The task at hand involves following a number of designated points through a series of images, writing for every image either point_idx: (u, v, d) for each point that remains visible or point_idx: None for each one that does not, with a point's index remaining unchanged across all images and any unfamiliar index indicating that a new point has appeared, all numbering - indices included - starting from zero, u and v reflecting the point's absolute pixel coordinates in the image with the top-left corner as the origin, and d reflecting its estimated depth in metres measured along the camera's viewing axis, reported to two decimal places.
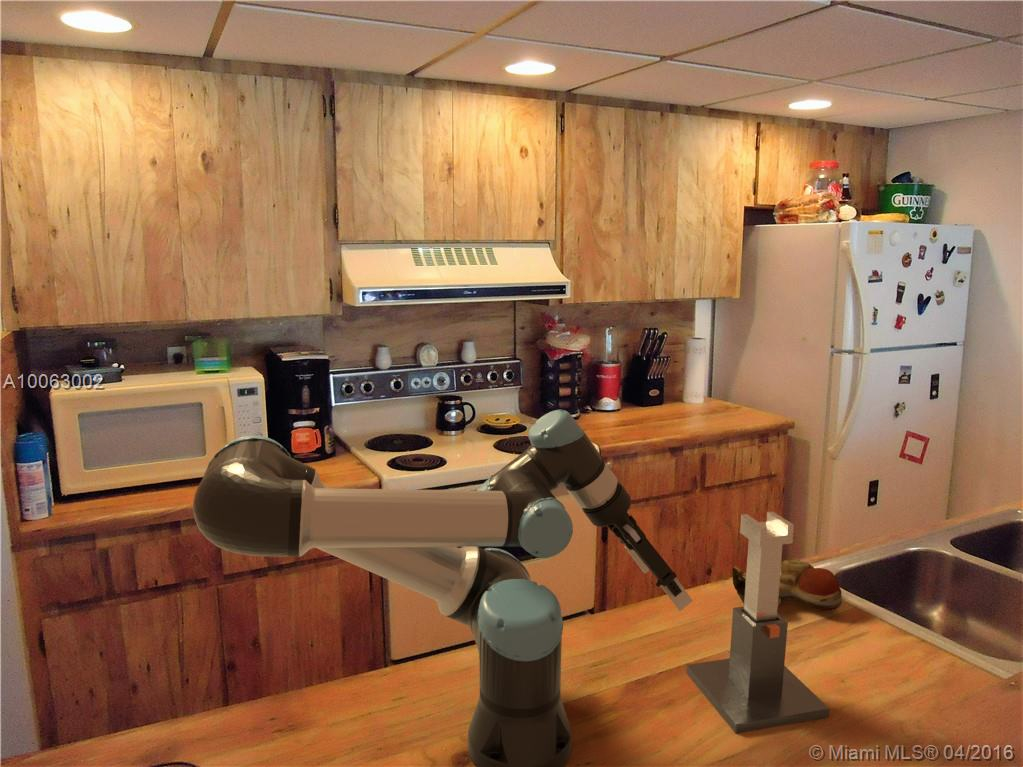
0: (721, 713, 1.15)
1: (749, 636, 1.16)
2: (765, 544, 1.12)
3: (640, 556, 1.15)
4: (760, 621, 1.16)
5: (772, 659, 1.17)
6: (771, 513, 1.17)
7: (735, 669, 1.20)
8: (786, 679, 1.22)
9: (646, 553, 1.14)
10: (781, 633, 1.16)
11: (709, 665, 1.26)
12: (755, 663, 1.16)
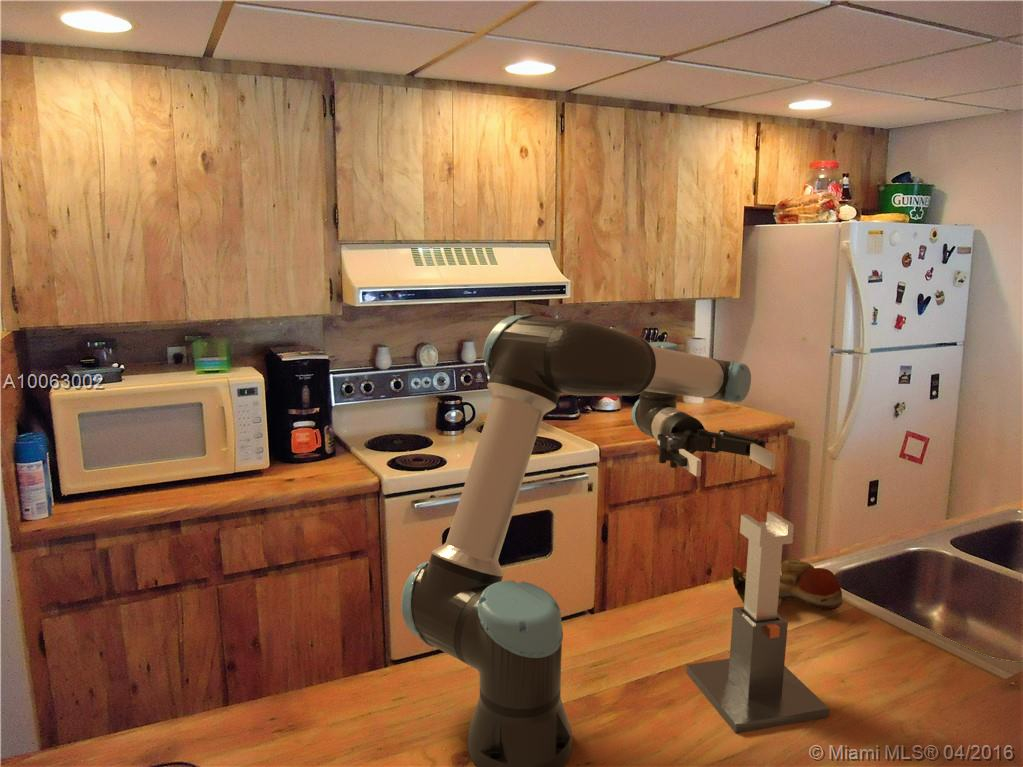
0: (721, 713, 1.15)
1: (749, 636, 1.16)
2: (765, 544, 1.12)
3: (735, 435, 1.36)
4: (760, 621, 1.16)
5: (772, 659, 1.17)
6: (771, 513, 1.17)
7: (735, 669, 1.20)
8: (786, 679, 1.22)
9: None
10: (781, 633, 1.16)
11: (709, 665, 1.26)
12: (755, 663, 1.16)
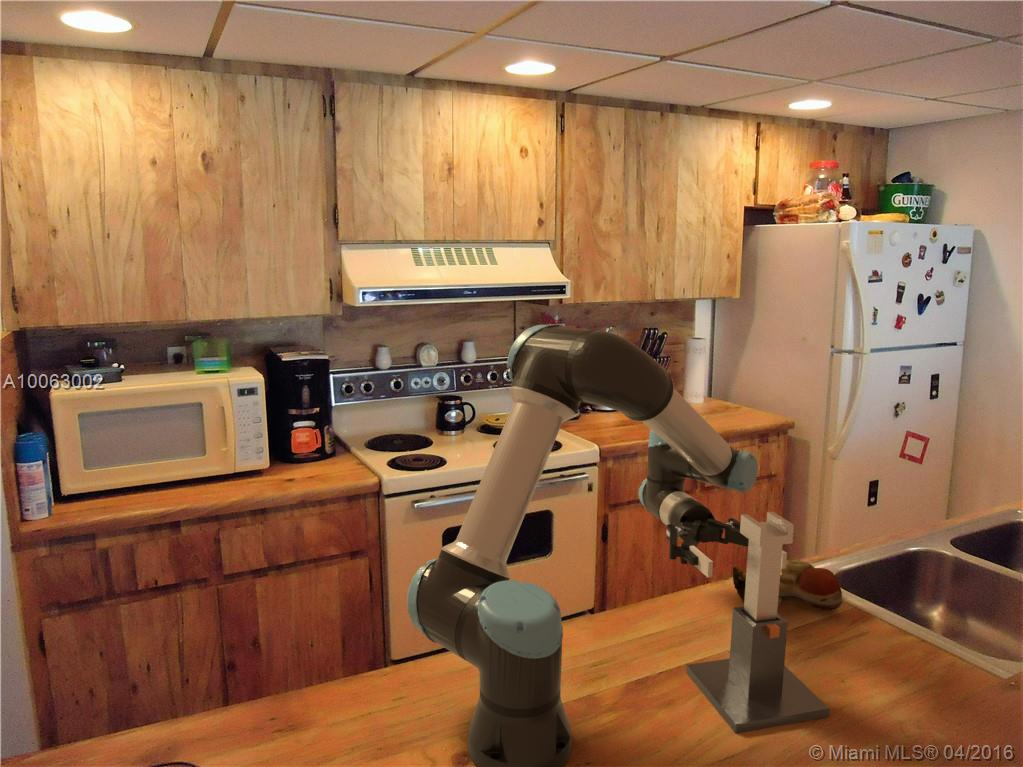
0: (721, 713, 1.15)
1: (749, 636, 1.16)
2: (765, 544, 1.12)
3: None
4: (760, 621, 1.16)
5: (772, 659, 1.17)
6: (771, 513, 1.17)
7: (735, 669, 1.20)
8: (786, 679, 1.22)
9: None
10: (781, 633, 1.16)
11: (709, 665, 1.26)
12: (755, 663, 1.16)
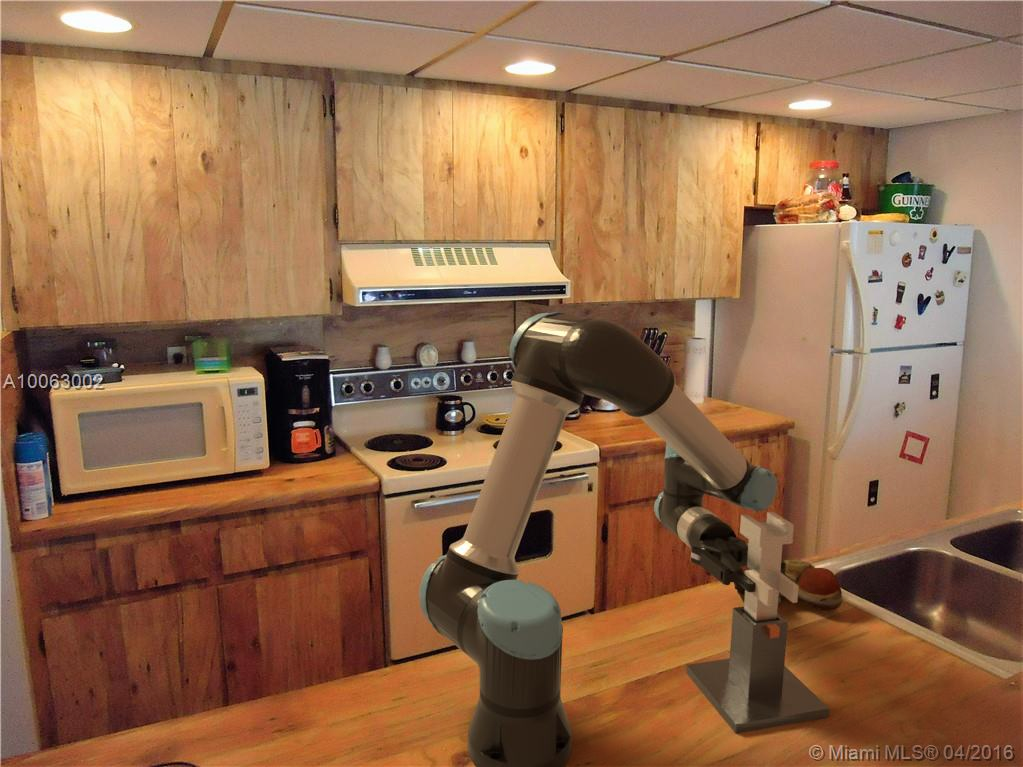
0: (721, 713, 1.15)
1: (749, 636, 1.16)
2: (765, 544, 1.12)
3: None
4: (760, 621, 1.16)
5: (772, 659, 1.17)
6: (771, 513, 1.17)
7: (735, 669, 1.20)
8: (786, 679, 1.22)
9: None
10: (781, 633, 1.16)
11: (709, 665, 1.26)
12: (755, 663, 1.16)
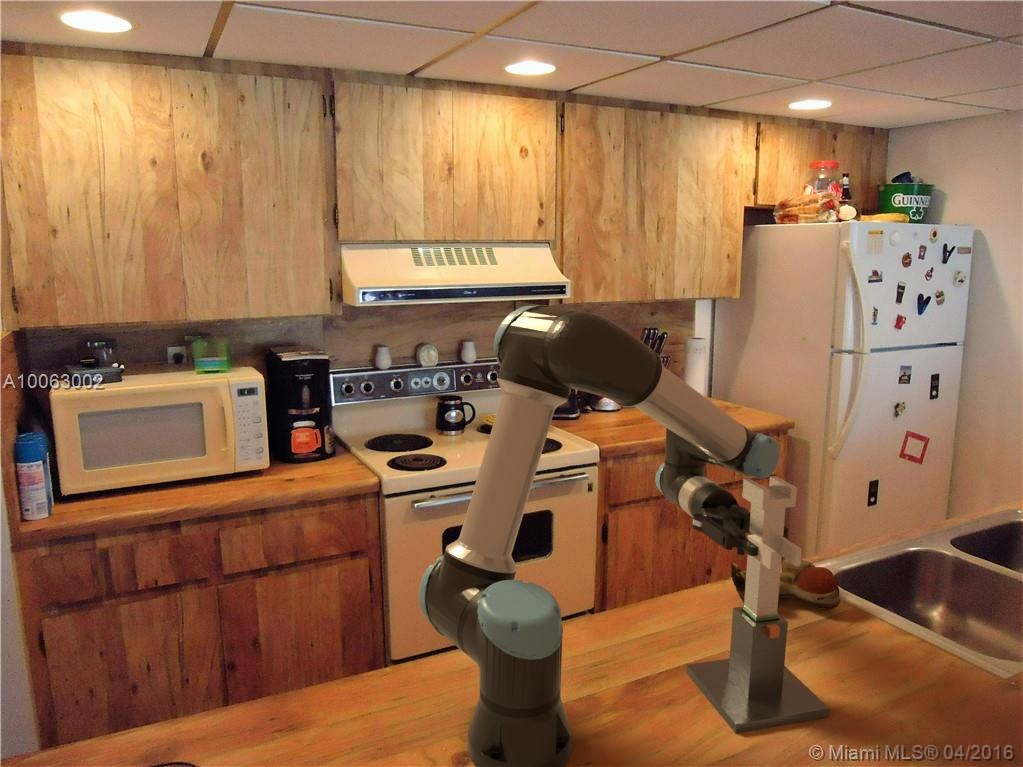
0: (721, 713, 1.15)
1: (749, 636, 1.16)
2: (768, 507, 1.11)
3: None
4: (763, 586, 1.15)
5: (772, 659, 1.17)
6: (773, 477, 1.16)
7: (735, 669, 1.20)
8: (786, 679, 1.22)
9: None
10: (781, 633, 1.16)
11: (709, 665, 1.26)
12: (755, 663, 1.16)
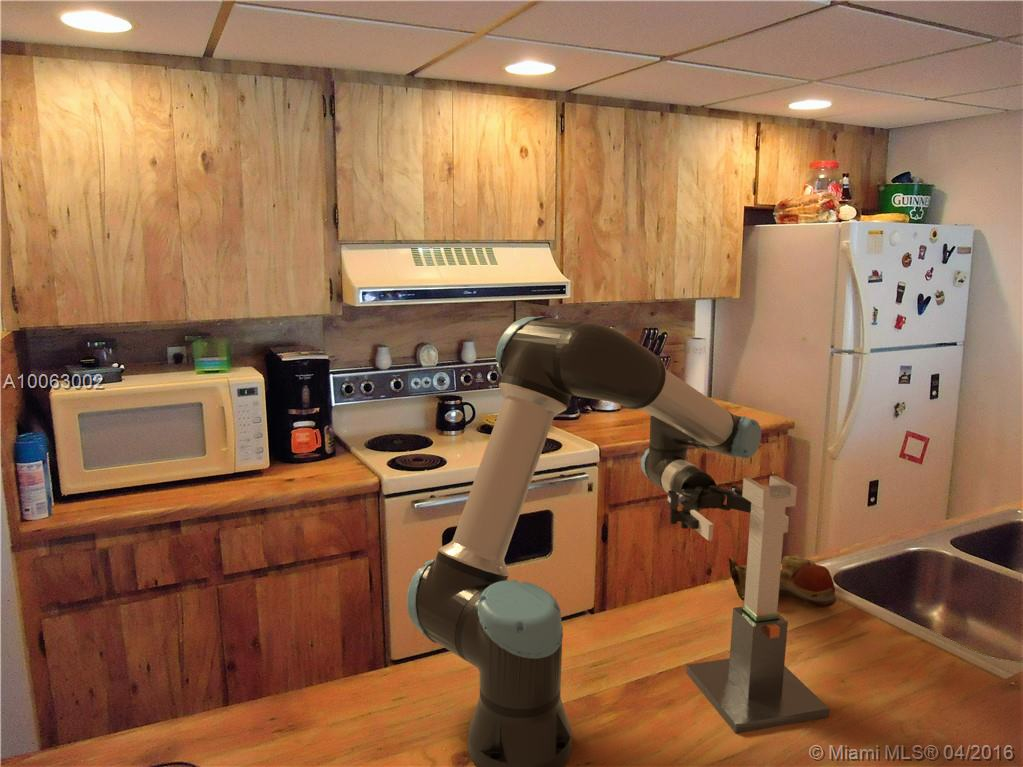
0: (721, 713, 1.15)
1: (749, 636, 1.16)
2: (768, 507, 1.11)
3: None
4: (763, 586, 1.15)
5: (772, 659, 1.17)
6: (773, 477, 1.16)
7: (735, 669, 1.20)
8: (786, 679, 1.22)
9: None
10: (781, 633, 1.16)
11: (709, 665, 1.26)
12: (755, 663, 1.16)
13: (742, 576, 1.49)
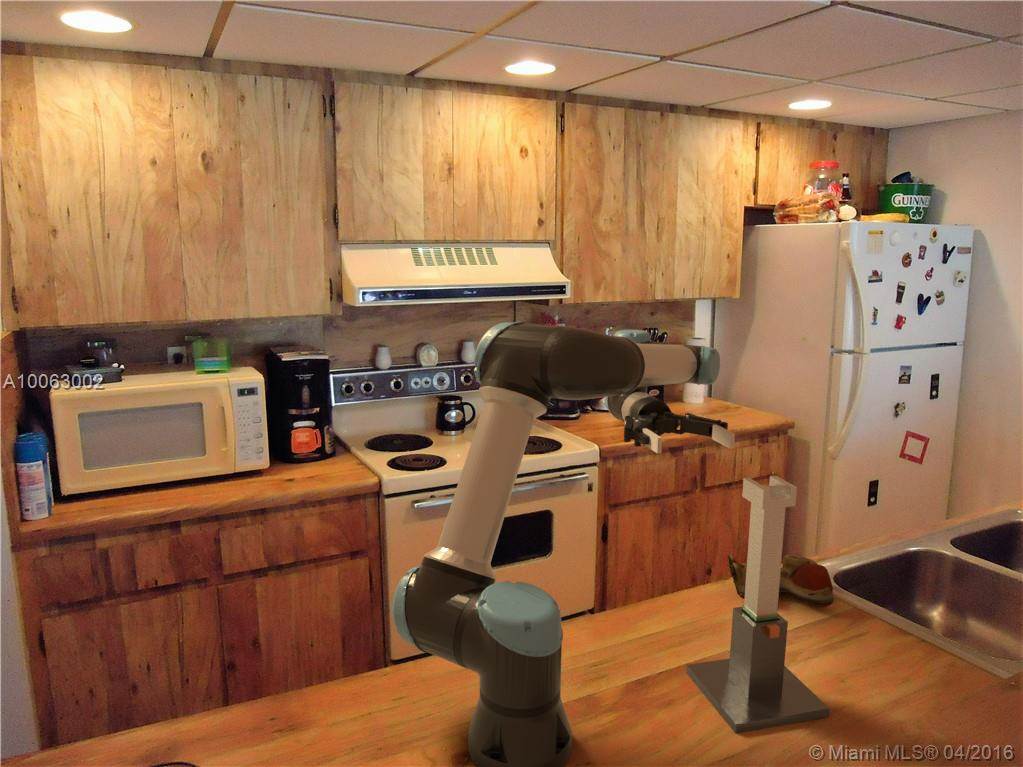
0: (721, 713, 1.15)
1: (749, 636, 1.16)
2: (768, 507, 1.11)
3: (700, 418, 1.41)
4: (763, 586, 1.15)
5: (772, 659, 1.17)
6: (773, 477, 1.16)
7: (735, 669, 1.20)
8: (786, 679, 1.22)
9: None
10: (781, 633, 1.16)
11: (709, 665, 1.26)
12: (755, 663, 1.16)
13: (740, 573, 1.50)
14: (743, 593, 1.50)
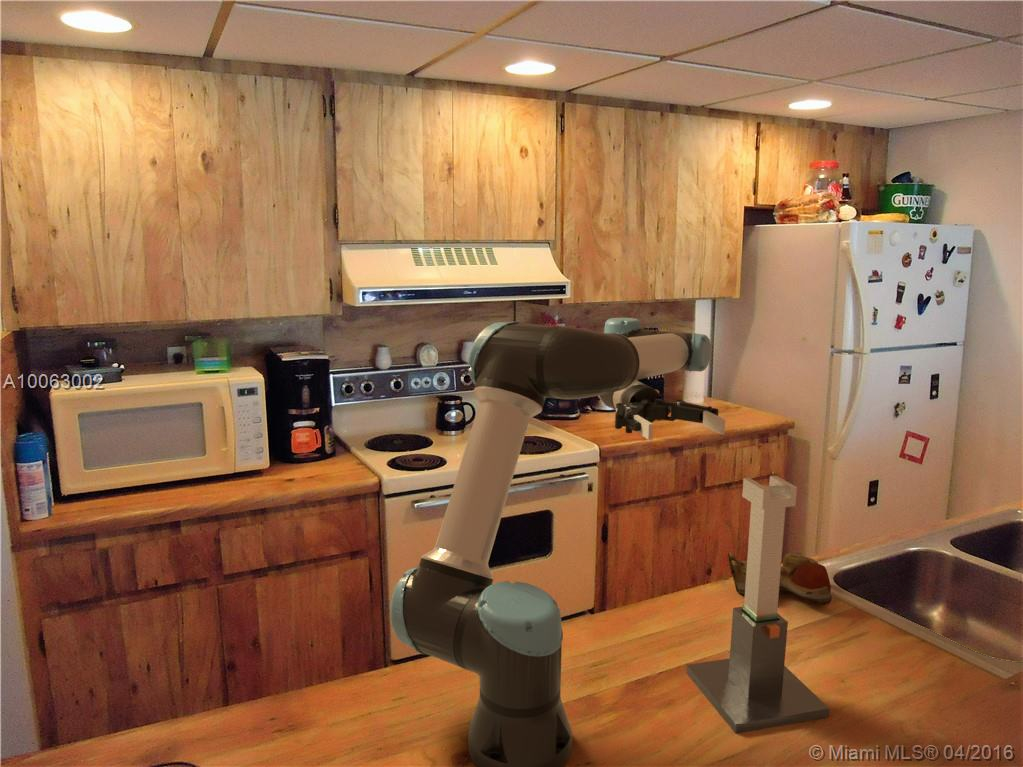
0: (721, 713, 1.15)
1: (749, 636, 1.16)
2: (768, 507, 1.11)
3: (691, 405, 1.41)
4: (763, 586, 1.15)
5: (772, 659, 1.17)
6: (773, 477, 1.16)
7: (735, 669, 1.20)
8: (786, 679, 1.22)
9: None
10: (781, 633, 1.16)
11: (709, 665, 1.26)
12: (755, 663, 1.16)
13: (738, 571, 1.51)
14: (741, 590, 1.51)
